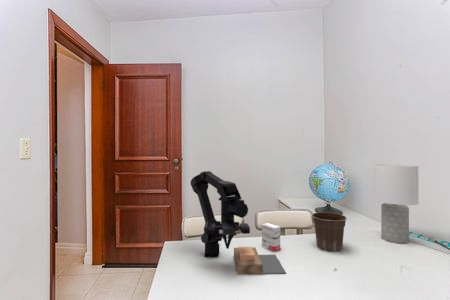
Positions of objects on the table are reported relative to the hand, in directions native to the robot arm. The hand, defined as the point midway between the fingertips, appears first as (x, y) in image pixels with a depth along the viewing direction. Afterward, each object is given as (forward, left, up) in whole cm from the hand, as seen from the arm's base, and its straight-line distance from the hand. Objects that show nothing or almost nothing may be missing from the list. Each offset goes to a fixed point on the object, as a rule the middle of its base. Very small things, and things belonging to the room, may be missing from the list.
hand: (227, 248), depth 104 cm
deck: (+9, 0, -7) cm, 11 cm away
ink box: (+23, +17, -7) cm, 30 cm away
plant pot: (+53, +17, -7) cm, 56 cm away
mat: (+18, 0, -7) cm, 20 cm away
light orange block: (+8, 0, -3) cm, 9 cm away
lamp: (+95, +26, -7) cm, 99 cm away
